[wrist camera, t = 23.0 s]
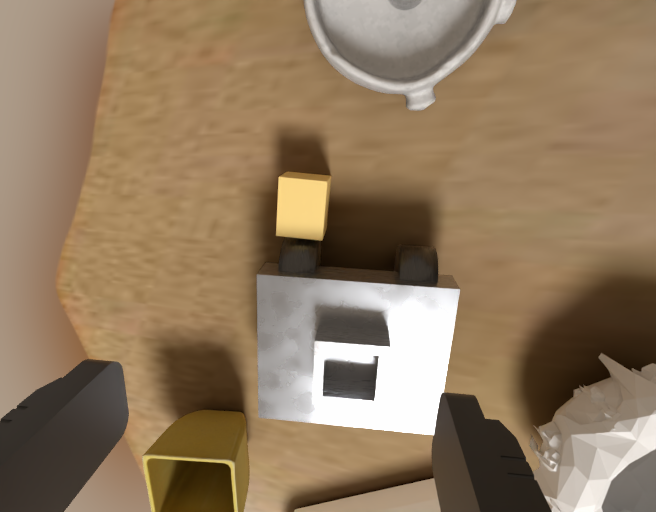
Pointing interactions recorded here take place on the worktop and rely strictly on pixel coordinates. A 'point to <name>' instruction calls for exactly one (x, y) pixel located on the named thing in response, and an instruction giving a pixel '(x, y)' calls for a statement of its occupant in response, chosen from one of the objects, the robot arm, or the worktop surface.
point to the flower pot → (199, 464)
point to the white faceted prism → (386, 500)
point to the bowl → (602, 445)
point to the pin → (405, 4)
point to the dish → (402, 41)
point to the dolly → (354, 339)
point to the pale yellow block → (303, 205)
